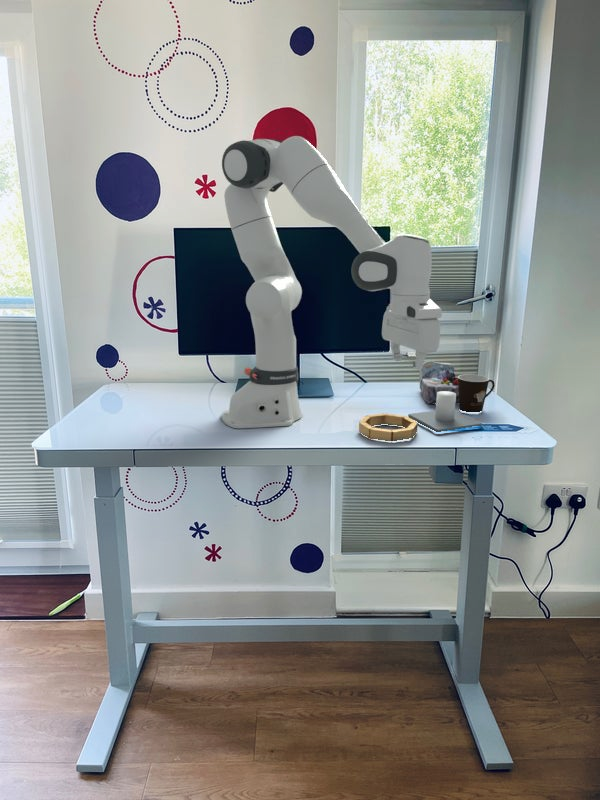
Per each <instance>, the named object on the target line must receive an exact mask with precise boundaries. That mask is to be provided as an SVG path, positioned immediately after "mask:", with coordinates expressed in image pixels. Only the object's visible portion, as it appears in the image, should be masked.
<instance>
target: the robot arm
mask: <svg viewBox="0 0 600 800" xmlns="http://www.w3.org/2000/svg"><path fill="white" fill-rule="evenodd" d="M221 169H222V173H223V175H224V177H225V179H226V180H227V182H228V183H230V184H229V185H228V186H227V187H226V188H225V191H224V202H225V208H226V209H225V210H226V214H227V219H228V222H229V226H230V228H231V229H230V230H231V232H232V235H233V238H234V241H235V244H236V247H237V250H238V253H239V256H240V260H241V261H242V263H244V264H245V267H247V269H248V271H249V273H250V275H251V277H252V278H253V280H254V282H253V283H252V284H251V286H250V287H249V289H248V290H247V292H246V296H245V304H246V307H247V310H248V312H249V313H250V319H251V324H252V328H253V333H254V341H255V361H256V362H255V366H254V367H253V368H250V367H248V366H247V367H245V368H244V370H243V371H244V374H245V375H247V377H249V381H247V383H245V384H244V385H243V386H242V387H240V388H239V389H238V390H237V391H235V392H234V393H233V394H232V395H231V397H230V401H229V407H228V409H227V410H224V411H223V412H222V413H221V421H223V423H224V424H225V425H227V426H228V427H231V428H233V429H250V428H252V429H253V428H254V429H255V428H268V427H269V428H271V427H272V428H273V427H288V426H292V425H293V423H294V422H296V421H297V420H299V419H301V418H302V417H303V413H302V410H301V407H300V399H299V395H298V394H299V393H298V385H299V371H298V370H299V368H298V366H297V338H296V337H297V336H296V335H295V330H294V326H293V319H292V311H293V310H295V309H296V308H297V307H298V306H299V304H300V302H301V299H302V294H303V289H302V286H301V284H300V282H299V280H298V279H297V277H296V275H295V271H294V270H293V268H292V266H291V263H290V261H289V259H288V257H287V256H286V253H285V251H284V248H283V247H282V244H281V241H280V237H279V234H278V232H277V228H276V224H275V221H274V219H273V216H272V212H271V210H270V207H269V203H268V195H269V192H272V193H275V192H276V191H278V190H279V188H281V187H282V186H283V185H284V186H285V187H286V189H287V190H288V192H289V193H290V195H291V196H292V197H293V199H294V200H295V202H296V203H297V204H298V205H299V207H301V209H303V211H304V212H306V214H308V215H309V216H310V217H311V218H314V219H316V220H319V221H322V222H324V223H326V224H329V225H331V226H333V227H335V228H337V229H338V230H339V231H341V232H342V233H343V234H344V235H345V236H346V237H347V239H348V241H349V242H351V244H352V245H353V246H354V248H355V249H356V250H357V251H358V253H359V254H358V255H356V256H355V258H354V259H353V262H352V264H351V271H350V273H351V277H352V280H353V282H354V284H356V286H357V287H358V288H360V289H361V290H364V291H368V292H376V291H383V290H390V293H391V295H390V303H388V306H386V310H385V312H384V314H383V317H382V318H383V319H382V324H381V325H382V327H381V337H382V339H383V340H384V341H388V342H390V343H389V345H390V349H391V353H392V360H393V361H395V362H401V361H402V360H403V358H402V357H403V354H402V352H401V349H400V346H403V347H405V348H409V349H411V350H414V351H415V355H416V357H415V360H413V361H412V368H413V369H414V370H420V369H422V368H423V363H424V362H425V360H426V357H427V355H428V354H431V353H435V352H437V351H438V349H439V347H440V342H441V340H440V339H441V323H440V322H441V321H440V318H441V317H442V314H443V309H442V308H441V307H440V306H439V305H437V304H436V303H435V301H433V300H432V299H431V298H430V297H431V289H430V280H431V277H432V263H433V262H432V261H433V259H432V257H433V256H432V247H431V243H430V241H429V240H428V239H427V238H426V237H424V236H421V235H416V234H409V233H399V234H397V235H396V236H395V237H394V238H392V239H391V240H389V241H387V242H386V241H385V240H384V239H383V238H382V237H381V236H380V235H379V233H378V232H377V231H376V229H375V227H373V226H372V225H371V223H370V222H369V220H368V219H367V217H365V216H364V214H363V213H362V212H361V210H360V209H359V208H358V206H357V205H356V204H355V202H354V201H353V199H352V197H351V196H350V194H349V193H348V192H347V190H346V189H345V187H344V185H343V183H342V182H341V180H340V179H339V177H338V176H337V174H336V173H335V171H334V170H333V169H332V167H331V166H330V164H329V163H328V161H327V160H326V158H325V157H323V155H322V154H321V153H320V152H319V151H318V150H317V149H316V148H315V146H313V144H311V142H309V141H308V139H306V138H304V137H303V136H299V135H294V136H290V137H288V138H286V139H284V140H283V141H281V140H278V139H267V138H256V139H251V140H245V139H243V140H239V141H236V142H233V143H232V144H230V145H229V146H227V148H226V149H225V150H224V152H223V155H222V159H221Z"/></svg>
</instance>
